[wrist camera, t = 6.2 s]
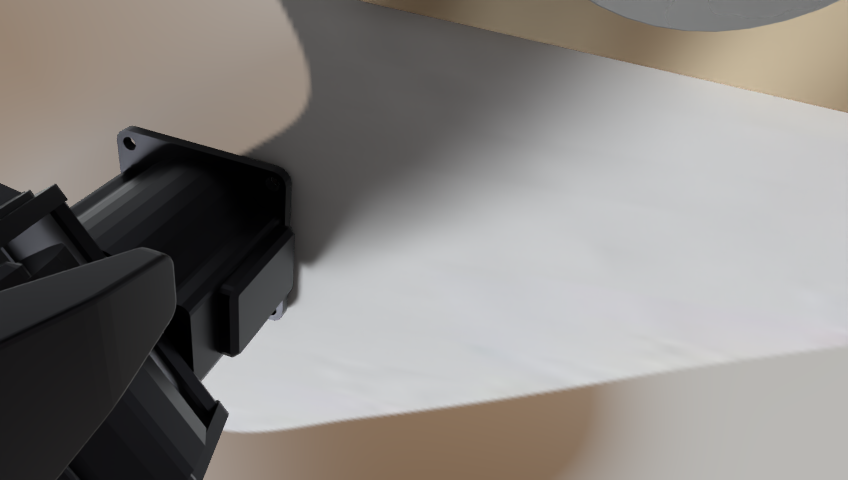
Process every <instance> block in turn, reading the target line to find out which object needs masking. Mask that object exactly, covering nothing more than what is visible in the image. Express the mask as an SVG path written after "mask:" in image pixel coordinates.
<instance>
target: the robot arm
mask: <svg viewBox="0 0 848 480" xmlns="http://www.w3.org/2000/svg"><path fill="white" fill-rule="evenodd" d="M131 138H132V139H133V140H134V141H135V144H136V145H135V144H134V143H133V142H132V141H131ZM117 144H118V152H119V161H120V169H121V174H119V175H118V176H116V177H115V178H113V179H112V180H110V181H109V182H107V183H106V184H104V185H103V186H101V187H100V188H99V189H97V190H96V191H94V192H92V193H91V194H89V195H88V196H87V197H85V198H84V199H82V200H81V201H79V202H78V203H76V204H75V205H73V206H72V207H70V208H69V206H68V205H67V204H66V202H65V201H67V198H66V197H65V195H64V194H63V192H62V191H61V190H60V188H59V187H58V186H57V184H54V185H52V186H50V187H48V188H47V189H44V190H43V191H41V192H39V193H37V194H35V195H34V194H33V193H32V192H31V190H29V191H27V192H22V193H21V192H18V191H16V190H14V189H12V188H10V187H7V186H5V185H3V184H1V183H0V480H203V478H204V475H205V473H206V470H207V468H208V465H209V463H210V460H211V458H212V455H213V453H214V450H215V448H216V445H217V443H218V440H219V438H220V435H221V433H222V430H223V428H224V425H225V423H226V420H227V418H228V415H229V413H228V412H227V411H226V409H225V408H224V407H223V405H222V404H221V403H220V401H219V400H216V401H215V400H214V398H213V397H212V396H211V394H210V393H209V392H208V391H207V389H206V388H205V387H204V385H203V384H202V383H201V381H202V380H203V379H204V377H205V376H206V375H207V374H208V373H209V371H210V370H211V369H212V368H213V367H214V365H215V364H216V363H217V362H218V361H219V359H220V358H221V357H222V356H223V354H224V355H227V356H230V357H235V356H236V355H238V354H240V353H241V352H242V351H243V350H244V348H245V347H246V346H247V345H248V343H249V342H250V341H251V340H252V338H253V337H254V336H255V335H256V333H257V332H258V331H259V330H260V328H261V327H262V326H263V324H264V323H265V322H266V321H267V319H270V320H279V319H280V318H281V317H282V316H283V314H284V313H285V312H286V310H287V298H288V293H289V292H290V291H291V289H292V287H293V267H294V241H295V234H294V232H293V230H292V228H291V227H290V208H291V178H290V176H289V174H288V173H287V172H286V171H285V170H284V169H283V168H281V167H279V166H275V165H272V164H268V163H265V162H261V161H257V160H254V159H250V158H247V157H243V156H240V155H236V154H232V153H229V152H225V151H222V150H218V149H215V148H211V147H207V146H204V145H200V144H196V143H193V142H190V141H186V140H182V139H179V138H175V137H172V136H168V135H165V134H161V133H157V132H153V131H150V130H147V129H143V128H140V127H136V126H129V127H127V128H125V129H124V130H122V131H120V132H119V134H118V135H117ZM271 178H274V179H276V180H277V181H278V183H279V186H277V185H275V184H274V183H273V182H272V179H271Z"/></svg>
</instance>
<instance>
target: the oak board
mask: <svg viewBox="0 0 848 480" xmlns="http://www.w3.org/2000/svg"><path fill="white" fill-rule="evenodd" d="M359 1H363V2H368V3H372V4H376V5H381V6H385V7H389V8H394V9H398V10H403V11H407V12H411V13H416V14H420V15H424V16H429V17H433V18H437V19H442V20H446V21H450V22H455V23H459V24H463V25H468V26H472V27H477V28H481V29H485V30H490V31H494V32H498V33H503V34H507V35H511V36H516V37H520V38H524V39H529V40H533V41H537V42H542V43H546V44H551V45H555V46H559V47H564V48H568V49H572V50H577V51H581V52H585V53H590V54H594V55H598V56H603V57H607V58H611V59H616V60H620V61H625V62H629V63H633V64H638V65H642V66H646V67H651V68H655V69H659V70H664V71H668V72H672V73H677V74H681V75H685V76H690V77H694V78H698V79H703V80H707V81H712V82H716V83H720V84H725V85H729V86H733V87H738V88H742V89H746V90H751V91H755V92H759V93H764V94H768V95H772V96H777V97H781V98H786V99H790V100H794V101H799V102H803V103H807V104H812V105H816V106H820V107H825V108H829V109H833V110H838V111H842V112H846V113H848V0H840V1H837V2H835V3H833V4H831V5H829V6H827V7H824V8H822V9H820V10H817V11H814V12H811V13H808V14H805V15H802V16H799V17H796V18H793V19H790V20H787V21H783V22H778V23H773V24H769V25H764V26H760V27H755V28H750V29H741V30H730V31H720V32H704V31H681V30H675V29H668V28H662V27H655V26H651V25H648V24H644V23H641V22H637V21H634V20H631V19H627V18H624V17H622V16H620V15H617V14H615V13H613V12H611V11H608V10H606V9H604V8H602V7H599V6H597V5H596V4H594V3H593V2H591V1H589V0H359Z"/></svg>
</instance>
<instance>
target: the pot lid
mask: <svg viewBox="0 0 848 480" xmlns="http://www.w3.org/2000/svg"><path fill="white" fill-rule="evenodd" d="M592 1H594V2H595V3H597V4H598V5H600V6H602V7H605V8H607V9H609V10H611V11H614V12H616V13H618V14H620V15H623V16H625V17H627V18H631V19H634V20H638V21H641V22H645V23H648V24H651V25H655V26H660V27H667V28H674V29H680V30H687V31H727V30H737V29H748V28H755V27H759V26H764V25H769V24H773V23H778V22H782V21H787V20H790V19H793V18H796V17H799V16H802V15H805V14H808V13H811V12H814V11H817V10H820V9H822V8H824V7H827V6H829V5H831V4H833V3H835V2H837V1H840V0H592Z"/></svg>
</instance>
